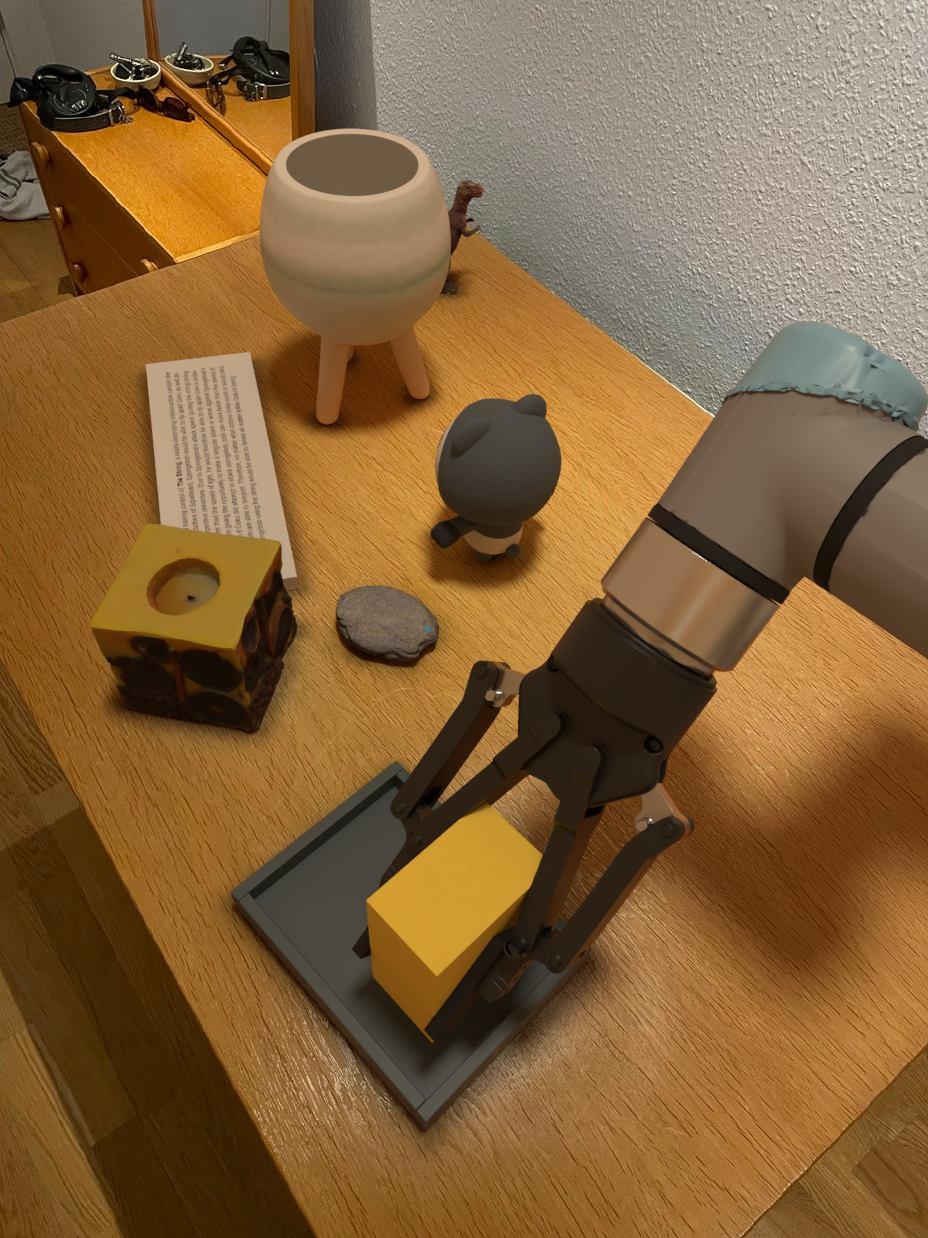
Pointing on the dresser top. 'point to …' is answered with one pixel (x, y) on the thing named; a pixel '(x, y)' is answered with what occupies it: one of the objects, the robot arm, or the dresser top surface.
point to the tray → (342, 982)
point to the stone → (386, 622)
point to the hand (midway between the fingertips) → (405, 986)
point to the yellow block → (448, 910)
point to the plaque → (215, 451)
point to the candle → (197, 625)
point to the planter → (356, 247)
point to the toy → (495, 473)
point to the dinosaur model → (461, 221)
